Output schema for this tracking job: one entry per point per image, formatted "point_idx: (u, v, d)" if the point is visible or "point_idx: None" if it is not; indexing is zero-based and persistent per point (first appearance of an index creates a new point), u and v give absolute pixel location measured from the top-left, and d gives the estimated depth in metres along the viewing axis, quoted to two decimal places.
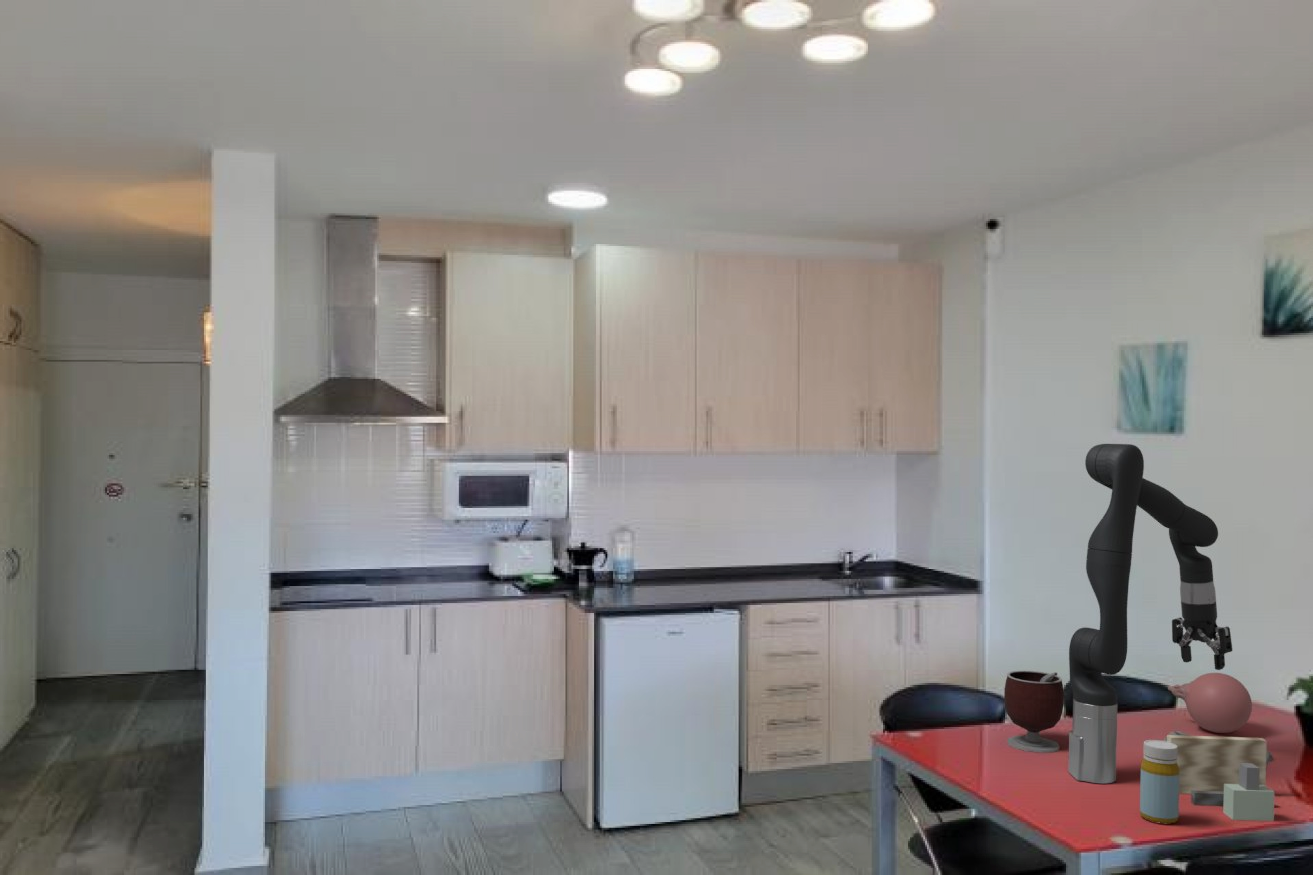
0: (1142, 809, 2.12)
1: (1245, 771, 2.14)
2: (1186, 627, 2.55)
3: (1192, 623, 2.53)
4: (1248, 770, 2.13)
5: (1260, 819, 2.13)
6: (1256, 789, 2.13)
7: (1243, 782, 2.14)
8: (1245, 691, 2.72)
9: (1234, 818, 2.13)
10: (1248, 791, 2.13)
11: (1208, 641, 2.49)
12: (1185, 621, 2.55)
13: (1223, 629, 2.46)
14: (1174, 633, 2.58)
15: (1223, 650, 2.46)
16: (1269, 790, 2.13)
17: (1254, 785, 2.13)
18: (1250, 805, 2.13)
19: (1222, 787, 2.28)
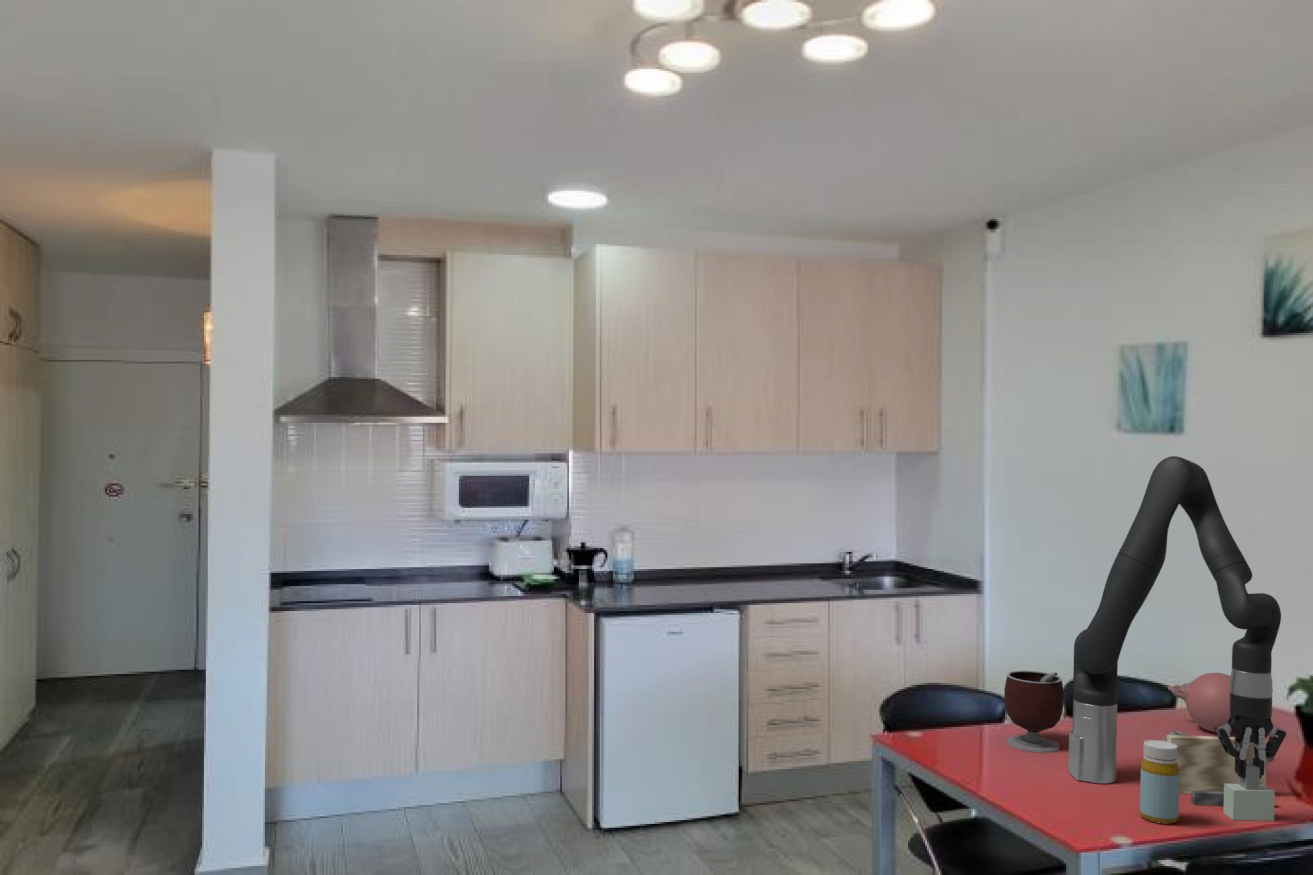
0: (1142, 809, 2.12)
1: None
2: None
3: None
4: (1248, 770, 2.13)
5: (1260, 819, 2.13)
6: (1256, 789, 2.13)
7: (1243, 782, 2.14)
8: None
9: (1234, 818, 2.13)
10: (1248, 791, 2.13)
11: None
12: None
13: (1215, 728, 2.16)
14: None
15: None
16: (1269, 790, 2.13)
17: (1254, 785, 2.13)
18: (1250, 805, 2.13)
19: (1222, 787, 2.28)
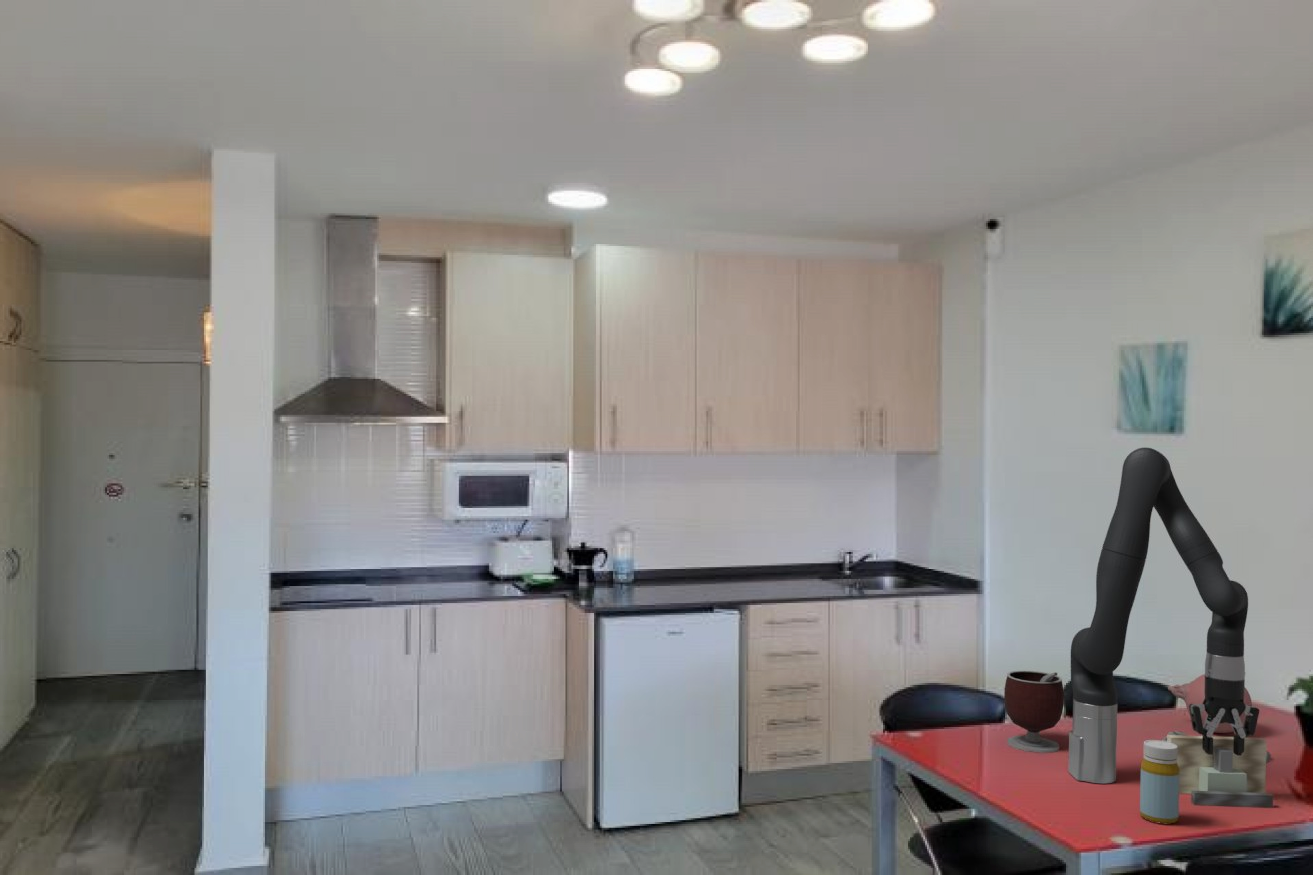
0: (1142, 809, 2.12)
1: (1219, 754, 2.25)
2: None
3: None
4: (1222, 754, 2.24)
5: None
6: (1229, 772, 2.24)
7: (1217, 765, 2.25)
8: (1245, 691, 2.72)
9: None
10: (1221, 773, 2.24)
11: None
12: None
13: (1190, 705, 2.27)
14: None
15: None
16: (1242, 773, 2.24)
17: (1227, 768, 2.24)
18: (1224, 787, 2.24)
19: None
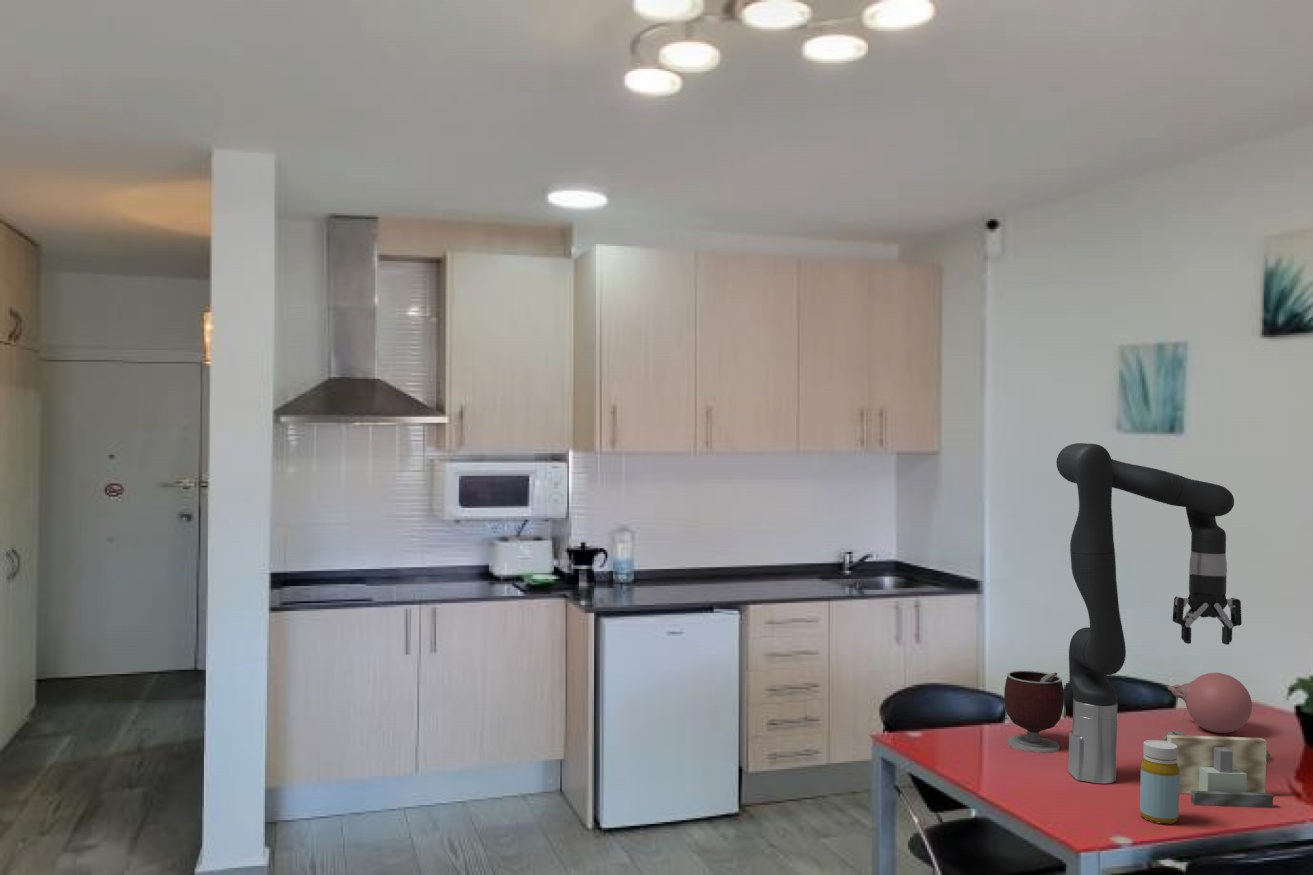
0: (1142, 809, 2.12)
1: (1219, 754, 2.25)
2: None
3: None
4: (1222, 754, 2.24)
5: None
6: (1229, 772, 2.24)
7: (1217, 765, 2.25)
8: (1245, 691, 2.72)
9: None
10: (1221, 773, 2.24)
11: None
12: None
13: (1175, 597, 2.41)
14: None
15: None
16: (1242, 773, 2.24)
17: (1227, 768, 2.24)
18: (1224, 787, 2.24)
19: None
